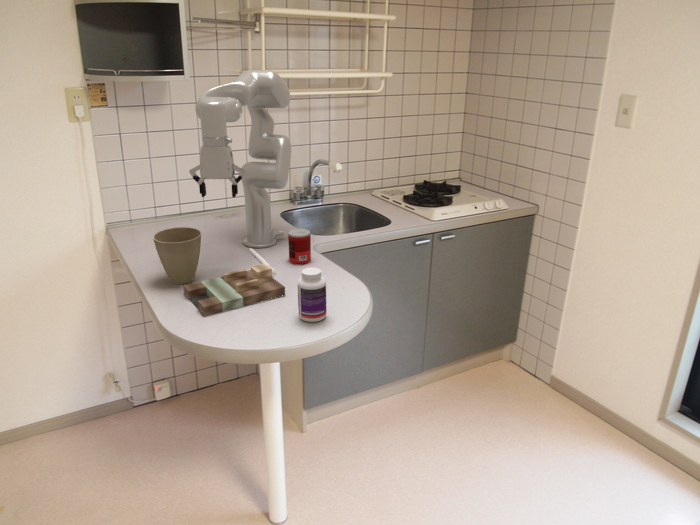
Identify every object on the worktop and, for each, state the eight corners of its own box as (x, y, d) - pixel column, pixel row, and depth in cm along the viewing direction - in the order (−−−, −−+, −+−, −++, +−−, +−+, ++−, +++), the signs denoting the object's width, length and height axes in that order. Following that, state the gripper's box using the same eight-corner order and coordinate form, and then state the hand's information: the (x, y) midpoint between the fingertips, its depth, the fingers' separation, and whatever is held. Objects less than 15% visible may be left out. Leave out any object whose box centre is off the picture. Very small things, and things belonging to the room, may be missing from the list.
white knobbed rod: (242, 251, 214) (241, 244, 213) (252, 250, 216) (252, 243, 215) (266, 278, 191) (266, 270, 190) (278, 276, 193) (277, 268, 192)
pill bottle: (331, 318, 164) (331, 272, 158) (308, 326, 160) (307, 279, 154) (316, 308, 170) (316, 263, 165) (293, 315, 166) (292, 269, 160)
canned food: (314, 259, 207) (314, 230, 203) (303, 266, 200) (303, 237, 196) (296, 255, 210) (295, 227, 206) (285, 263, 203) (284, 233, 199)
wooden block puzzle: (260, 276, 192) (259, 261, 190) (285, 295, 178) (284, 279, 176) (184, 294, 178) (182, 277, 176) (204, 316, 164) (203, 299, 162)
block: (265, 275, 185) (265, 263, 184) (272, 280, 181) (272, 268, 180) (251, 278, 182) (250, 266, 181) (258, 283, 179) (257, 272, 177)
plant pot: (157, 274, 192) (151, 229, 186) (202, 268, 197) (198, 225, 191) (160, 292, 179) (154, 244, 173) (208, 285, 184) (204, 239, 178)
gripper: (245, 140, 179) (248, 193, 185) (189, 139, 179) (195, 192, 185) (241, 144, 172) (244, 199, 178) (183, 144, 172) (188, 199, 178)
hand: (219, 196), depth 181 cm, fingers open, 9 cm apart
